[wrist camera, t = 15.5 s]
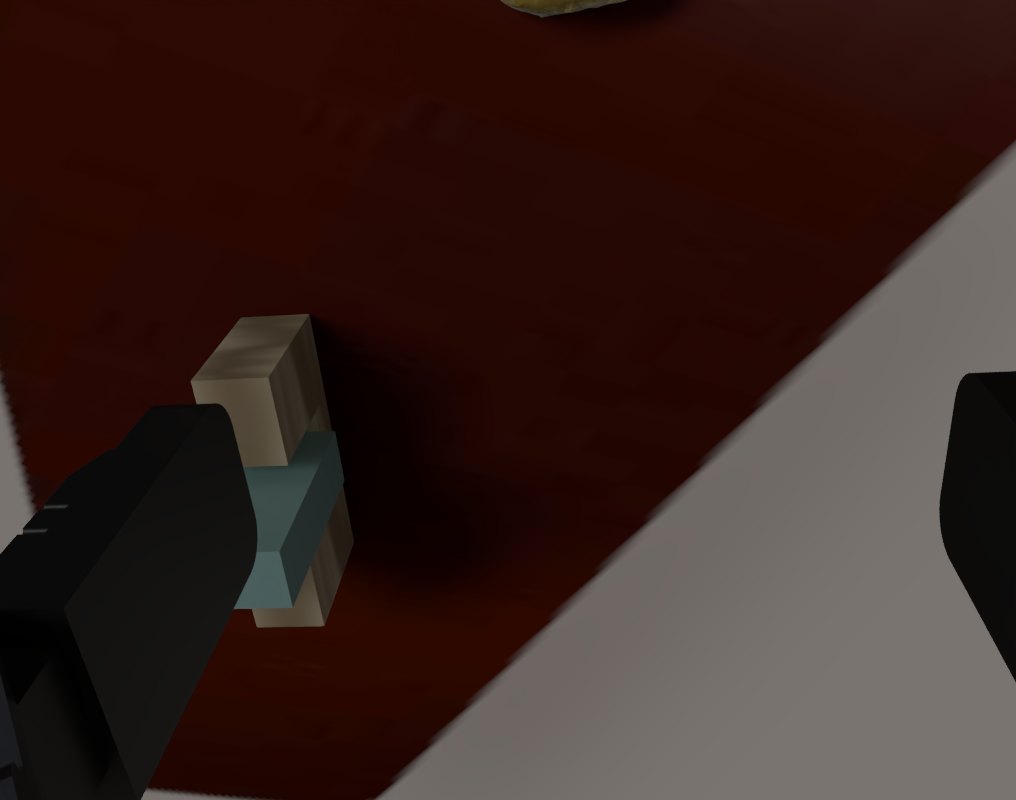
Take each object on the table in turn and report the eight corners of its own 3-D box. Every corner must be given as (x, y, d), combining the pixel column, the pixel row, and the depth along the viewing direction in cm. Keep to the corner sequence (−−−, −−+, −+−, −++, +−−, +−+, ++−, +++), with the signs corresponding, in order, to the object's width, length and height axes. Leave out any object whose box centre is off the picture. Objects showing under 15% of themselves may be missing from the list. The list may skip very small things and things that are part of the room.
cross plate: (334, 430, 49) (279, 551, 40) (344, 480, 50) (292, 607, 41) (239, 434, 49) (163, 554, 40) (251, 483, 50) (180, 609, 42)
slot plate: (309, 314, 48) (268, 377, 42) (353, 541, 54) (324, 626, 48) (241, 317, 48) (190, 381, 42) (294, 543, 55) (256, 627, 48)
